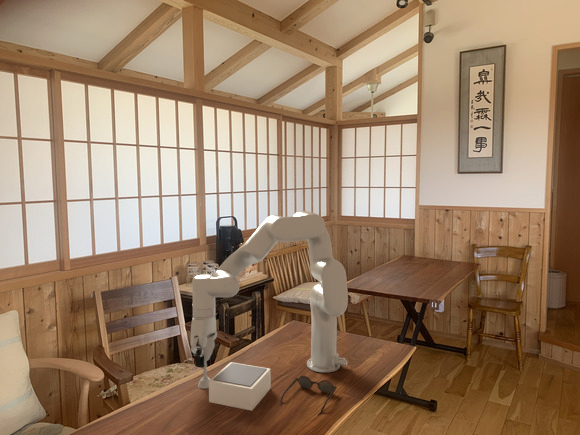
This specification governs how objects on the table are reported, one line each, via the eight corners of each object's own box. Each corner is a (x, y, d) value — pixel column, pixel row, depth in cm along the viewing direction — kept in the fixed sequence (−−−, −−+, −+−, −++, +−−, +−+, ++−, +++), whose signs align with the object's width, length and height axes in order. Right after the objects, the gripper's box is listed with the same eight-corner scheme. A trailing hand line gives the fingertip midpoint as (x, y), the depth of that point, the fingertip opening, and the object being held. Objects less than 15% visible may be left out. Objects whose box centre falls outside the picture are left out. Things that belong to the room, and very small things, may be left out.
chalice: (197, 391, 148) (196, 339, 147) (192, 383, 154) (191, 332, 153) (218, 386, 152) (218, 335, 150) (212, 378, 158) (211, 329, 156)
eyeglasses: (336, 395, 147) (336, 380, 147) (321, 417, 134) (321, 401, 133) (296, 386, 153) (296, 372, 153) (277, 407, 140) (277, 391, 139)
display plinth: (270, 388, 151) (270, 367, 150) (251, 410, 137) (251, 388, 136) (230, 381, 156) (230, 361, 155) (209, 402, 142) (208, 380, 141)
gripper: (207, 303, 160) (208, 351, 162) (180, 318, 144) (181, 371, 146) (226, 305, 157) (226, 354, 159) (200, 320, 141) (201, 375, 143)
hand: (204, 362), depth 152 cm, fingers closed on chalice, 6 cm apart
